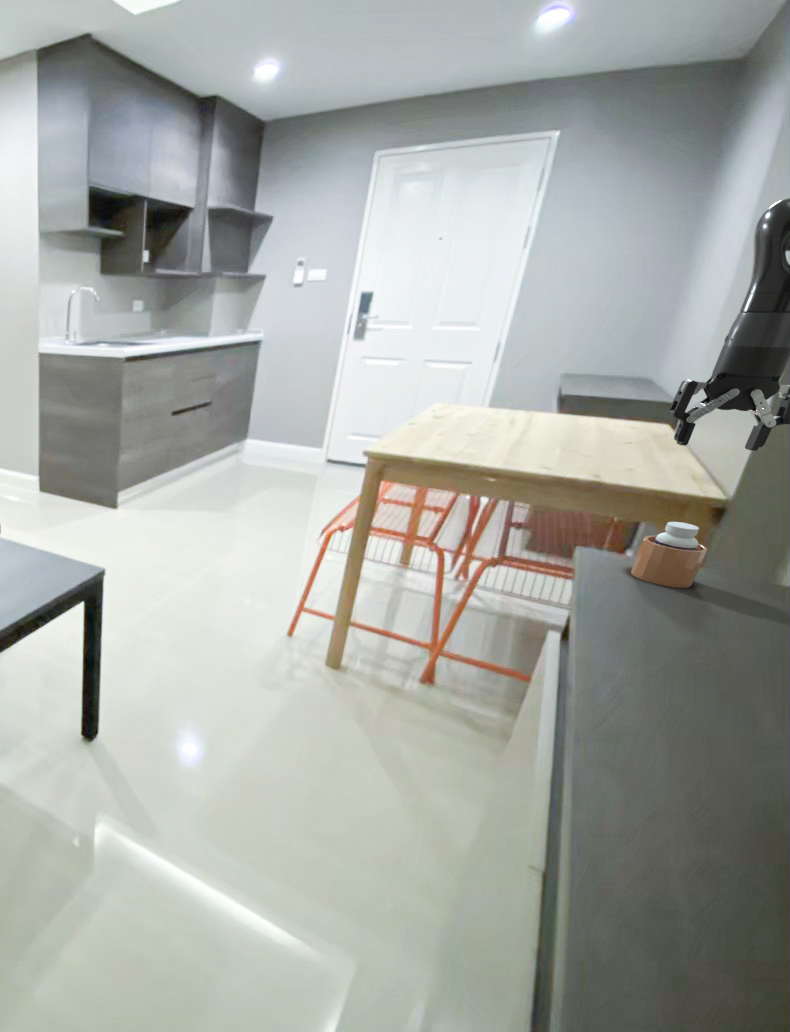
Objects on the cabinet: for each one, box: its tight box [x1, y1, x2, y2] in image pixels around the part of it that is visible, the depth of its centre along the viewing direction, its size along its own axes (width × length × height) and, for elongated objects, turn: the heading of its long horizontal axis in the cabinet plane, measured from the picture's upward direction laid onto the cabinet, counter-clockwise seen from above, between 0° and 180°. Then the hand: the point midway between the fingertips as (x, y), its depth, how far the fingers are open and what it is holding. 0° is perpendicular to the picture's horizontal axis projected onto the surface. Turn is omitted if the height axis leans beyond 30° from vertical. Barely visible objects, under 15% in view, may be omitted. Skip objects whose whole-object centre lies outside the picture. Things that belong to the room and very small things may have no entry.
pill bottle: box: [654, 521, 700, 551], centre depth 107 cm, size 5×5×10 cm
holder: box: [630, 535, 708, 589], centre depth 108 cm, size 8×8×7 cm
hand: (715, 447), depth 100 cm, fingers open, 8 cm apart
